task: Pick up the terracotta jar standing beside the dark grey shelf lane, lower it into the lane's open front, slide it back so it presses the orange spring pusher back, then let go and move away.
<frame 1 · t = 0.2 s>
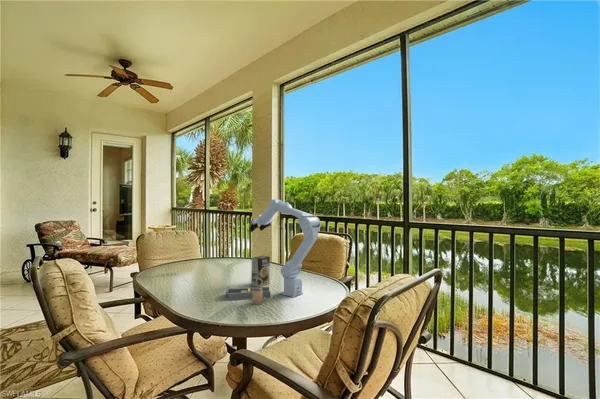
hand: (255, 230, 175), 32 cm above the table, tool tilted 50°, fingers open, 7 cm apart
pusher: (245, 291, 152), point 2 cm above the table, slide at 0.0 cm
lane: (248, 295, 153), on the table
coffee box: (260, 284, 173), on the table
jar: (257, 302, 143), on the table
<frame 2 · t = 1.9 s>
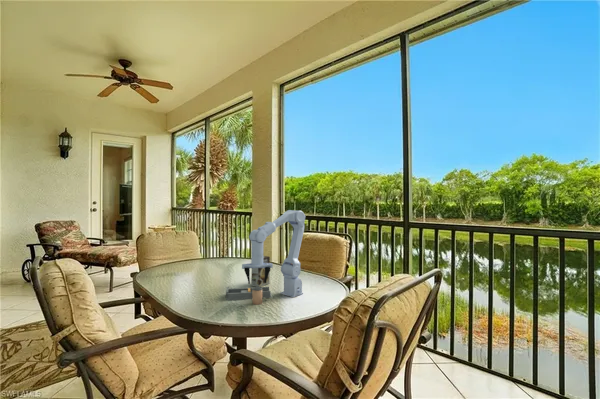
hand: (257, 283, 143), 9 cm above the table, tool pointing down, fingers open, 7 cm apart
nothing on the table moved.
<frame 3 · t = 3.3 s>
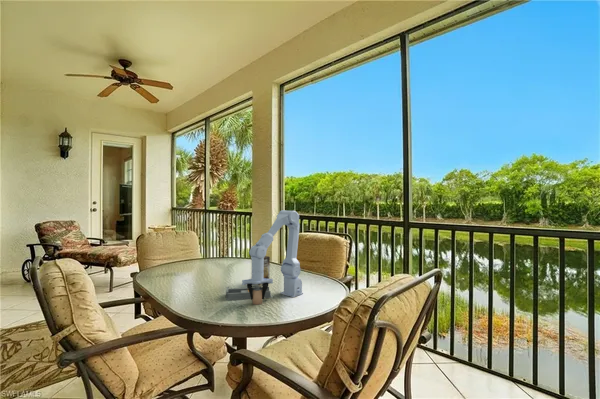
hand: (257, 298, 143), 2 cm above the table, tool pointing down, fingers closed on jar, 5 cm apart
jar: (257, 302, 143), on the table, touching gripper
everything else where it was.
when the fingers open (4 cm above the table, at t = 8.2 s): jar stays where it is, resting on lane.
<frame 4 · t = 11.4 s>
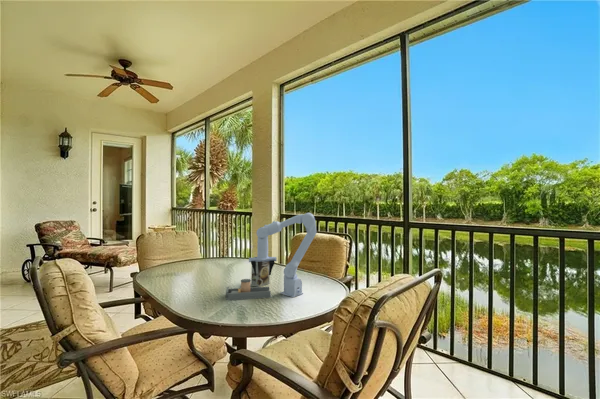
hand: (262, 274, 158), 9 cm above the table, tool pointing down, fingers open, 7 cm apart
pusher: (236, 292, 152), point 2 cm above the table, slide at 4.9 cm
jar: (245, 294, 152), point 1 cm above the table, touching lane
everything else where it was.
at the end: pusher slide at 4.9 cm; jar 1.4 cm from the lane (horizontally); jar tilted 1° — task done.
